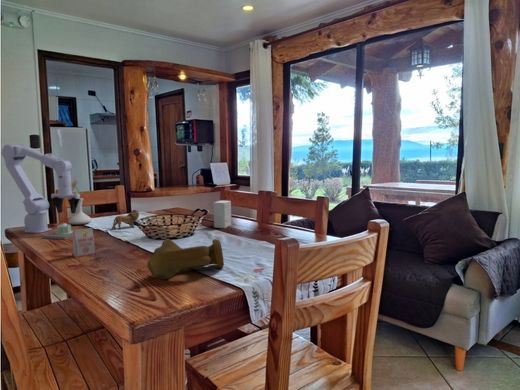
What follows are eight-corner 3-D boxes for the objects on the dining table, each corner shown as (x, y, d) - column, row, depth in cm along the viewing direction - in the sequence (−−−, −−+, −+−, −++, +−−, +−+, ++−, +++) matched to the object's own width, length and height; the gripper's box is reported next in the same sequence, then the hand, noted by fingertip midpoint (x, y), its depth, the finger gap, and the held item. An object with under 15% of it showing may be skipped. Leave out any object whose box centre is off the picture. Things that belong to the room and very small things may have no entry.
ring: (54, 233, 168) (54, 226, 167) (63, 230, 173) (63, 224, 173) (65, 233, 167) (64, 227, 166) (73, 231, 172) (73, 224, 172)
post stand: (42, 238, 165) (41, 226, 164) (64, 231, 178) (63, 220, 177) (65, 239, 162) (64, 227, 162) (85, 232, 175) (84, 221, 174)
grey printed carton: (73, 255, 138) (71, 229, 137) (92, 251, 142) (90, 227, 141) (76, 257, 135) (74, 231, 134) (95, 253, 140) (93, 228, 138)
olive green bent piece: (157, 242, 127) (218, 230, 129) (162, 279, 125) (225, 266, 127) (143, 239, 109) (215, 225, 111) (149, 282, 107) (222, 267, 109)
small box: (220, 224, 193) (220, 200, 191) (231, 225, 191) (231, 200, 189) (213, 227, 185) (213, 202, 184) (224, 228, 183) (224, 202, 181)
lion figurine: (137, 225, 192) (136, 208, 191) (141, 226, 188) (140, 209, 187) (109, 229, 183) (108, 211, 181) (113, 231, 179) (112, 213, 178)
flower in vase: (71, 222, 200) (67, 177, 197) (93, 221, 204) (90, 177, 200) (66, 227, 188) (62, 179, 185) (90, 225, 191) (86, 178, 188)
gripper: (83, 184, 177) (85, 211, 179) (58, 184, 180) (60, 211, 182) (72, 186, 170) (75, 214, 172) (47, 185, 173) (49, 213, 175)
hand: (66, 212), depth 176 cm, fingers open, 7 cm apart
